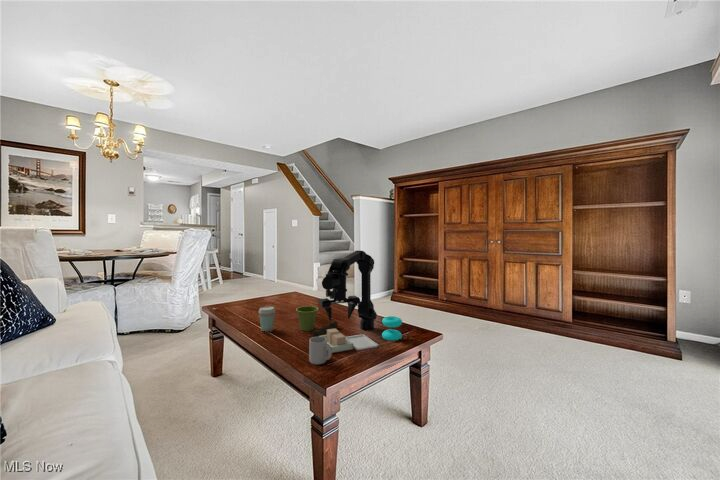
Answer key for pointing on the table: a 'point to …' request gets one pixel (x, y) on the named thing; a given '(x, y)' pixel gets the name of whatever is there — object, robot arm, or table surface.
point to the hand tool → (324, 329)
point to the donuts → (391, 333)
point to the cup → (319, 350)
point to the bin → (340, 347)
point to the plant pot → (307, 317)
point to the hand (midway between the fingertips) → (339, 319)
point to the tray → (362, 342)
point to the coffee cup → (266, 318)
